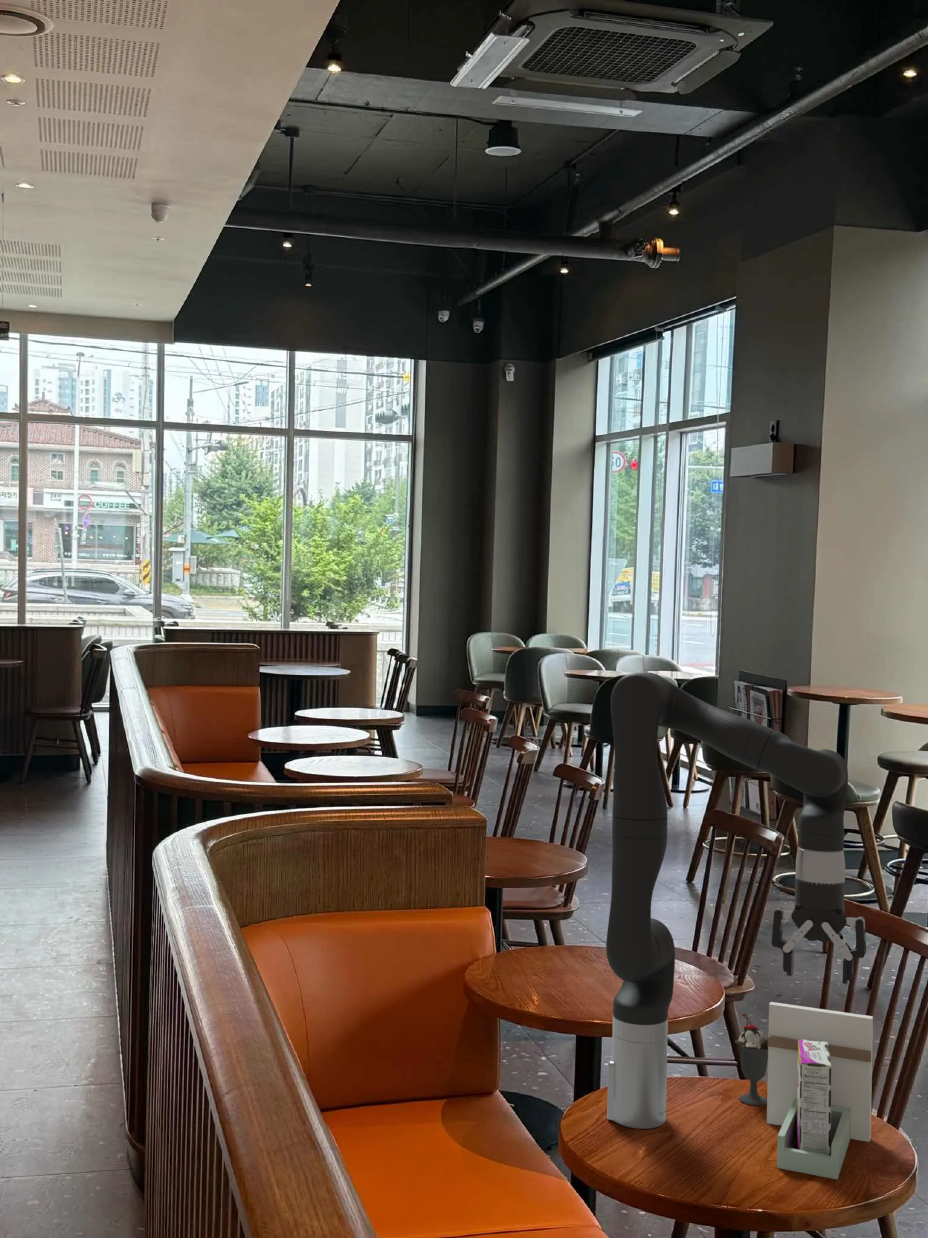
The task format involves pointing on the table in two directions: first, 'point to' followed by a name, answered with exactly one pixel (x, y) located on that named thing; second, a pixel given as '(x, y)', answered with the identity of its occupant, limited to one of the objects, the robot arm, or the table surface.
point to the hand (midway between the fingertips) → (817, 979)
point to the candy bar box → (814, 1097)
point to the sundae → (753, 1061)
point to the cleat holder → (848, 1081)
